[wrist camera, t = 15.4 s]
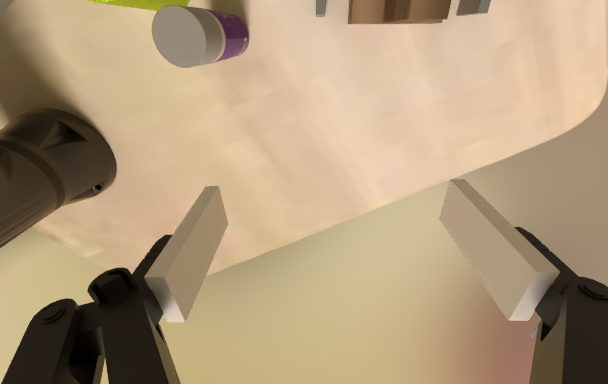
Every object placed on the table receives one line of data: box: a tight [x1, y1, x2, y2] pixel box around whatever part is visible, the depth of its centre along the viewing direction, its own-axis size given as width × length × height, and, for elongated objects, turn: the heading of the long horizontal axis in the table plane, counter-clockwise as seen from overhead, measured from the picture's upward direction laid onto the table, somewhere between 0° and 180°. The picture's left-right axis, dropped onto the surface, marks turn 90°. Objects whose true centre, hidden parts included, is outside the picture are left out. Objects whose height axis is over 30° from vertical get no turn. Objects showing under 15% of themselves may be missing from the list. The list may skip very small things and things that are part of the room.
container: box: [152, 5, 249, 68], centre depth 28 cm, size 5×5×15 cm
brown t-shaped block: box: [348, 0, 451, 24], centre depth 26 cm, size 10×3×14 cm, turn 90°
